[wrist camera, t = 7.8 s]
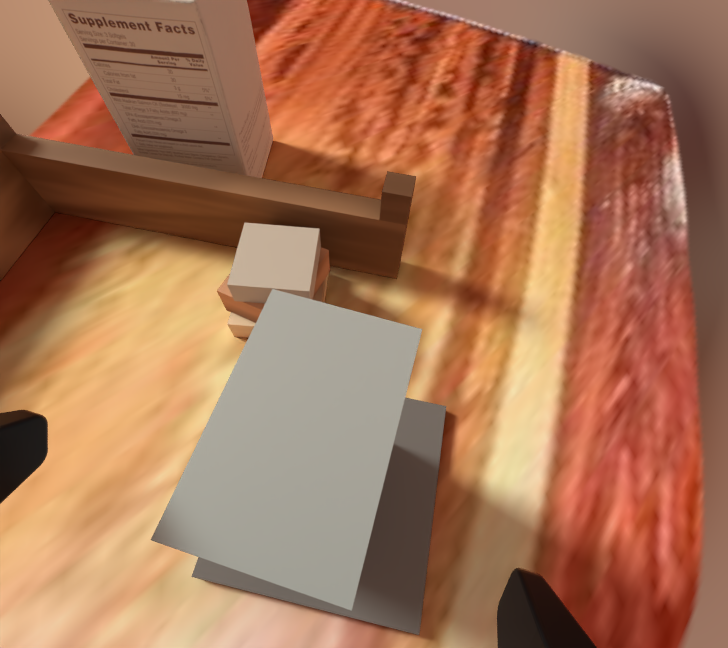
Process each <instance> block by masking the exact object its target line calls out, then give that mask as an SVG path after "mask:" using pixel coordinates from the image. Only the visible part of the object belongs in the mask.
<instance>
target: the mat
mask: <svg viewBox="0 0 728 648" xmlns="http://www.w3.org/2000/svg"><path fill="white" fill-rule="evenodd" d="M445 412H446V406H442V405H437V404H433V403H428V402H423V401H419V400H414V399H409V398H405V400H404V404H403V408H402V412H401V416H400V420H399V424H398V428H397V432H396V436H395V440H394V444H393V448H392V452H391V456H390V460H389V464H388V468H387V472H386V476H385V480H384V484H383V488H382V492H381V496H380V500H379V504H378V508H377V512H376V516H375V520H374V524H373V528H372V532H371V536H370V540H369V544H368V548H367V552H366V556H365V560H364V564H363V568H362V572H361V576H360V579H359V583H358V587H357V591H356V595H355V599H354V603H353V607H352V611H351V610H348V609H345V608H343V607H340V606H337V605H334V604H331V603H328V602H326V601H323V600H320V599H317V598H314V597H311V596H308V595H306V594H303V593H300V592H297V591H294V590H291V589H289V588H286V587H283V586H280V585H277V584H274V583H271V582H269V581H266V580H263V579H260V578H257V577H254V576H252V575H249V574H246V573H243V572H240V571H237V570H234V569H232V568H229V567H226V566H223V565H220V564H217V563H215V562H212V561H209V560H206V559H203V558H200V557H198V560H197V563H196V566H195V569H194V571H193V574H192V577H195V578H199V579H203V580H207V581H210V582H214V583H218V584H222V585H226V586H230V587H234V588H238V589H242V590H246V591H249V592H253V593H257V594H261V595H265V596H269V597H273V598H277V599H281V600H284V601H288V602H292V603H296V604H300V605H304V606H308V607H312V608H316V609H319V610H323V611H327V612H331V613H335V614H339V615H343V616H347V617H351V618H355V619H358V620H362V621H366V622H370V623H374V624H378V625H382V626H386V627H390V628H393V629H397V630H401V631H405V632H409V633H413V634H417V635H419V633H420V625H421V616H422V608H423V599H424V591H425V582H426V574H427V565H428V557H429V548H430V539H431V531H432V522H433V514H434V505H435V497H436V488H437V480H438V471H439V463H440V454H441V446H442V437H443V429H444V420H445Z"/></svg>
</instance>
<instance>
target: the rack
mask: <svg viewBox="0 0 728 648" xmlns="http://www.w3.org/2000/svg"><path fill="white" fill-rule="evenodd" d="M415 180H416V176H411V175H405V174H399V173H394V172H388V171H387V175H386V179H385V182H384V186H383V190H382V197H381V200H379V199H374V198H368V197H363V196H357V195H352V194H346V193H341V192H335V191H330V190H324V189H319V188H313V187H308V186H302V185H297V184H291V183H286V182H280V181H275V180H269V179H264V178H258V177H252V176H247V175H241V174H236V173H230V172H225V171H219V170H214V169H208V168H203V167H197V166H192V165H186V164H181V163H175V162H170V161H164V160H159V159H153V158H148V157H142V156H137V155H131V154H126V153H120V152H114V151H109V150H103V149H98V148H92V147H87V146H81V145H76V144H70V143H65V142H59V141H54V140H48V139H43V138H37V137H32V136H26V135H20V134H16V133H15V132H14V130H13V129H12V128H11V127H10V126H9V124H8V123H7V122H6V121H5V119H4V118H3V117H2V116H1V114H0V281H1V280H2V278H3V277H4V276H5V274H6V273H7V272H8V271H9V269H10V268H11V267H12V266H13V264H14V263H15V262H16V261H17V259H18V258H19V257H20V256H21V254H22V253H23V252H24V251H25V249H26V248H27V247H28V245H29V244H30V243H31V242H32V240H33V239H34V238H35V237H36V235H37V234H38V233H39V232H40V230H41V229H42V228H43V227H44V225H45V224H46V223H47V221H48V220H49V219H50V218H51V216H52V215H53V214H54V213H55V212H57V213H62V214H67V215H73V216H78V217H83V218H88V219H93V220H98V221H103V222H109V223H114V224H119V225H124V226H129V227H134V228H139V229H144V230H150V231H155V232H160V233H165V234H170V235H175V236H180V237H186V238H191V239H196V240H201V241H206V242H211V243H216V244H222V245H227V246H232V247H237V248H238V244H239V241H240V237H241V233H242V230H243V226H244V223H256V224H268V225H281V226H293V227H305V228H318V229H320V241H321V247H322V248H324V249H327V250H329V264H330V266H335V267H340V268H345V269H350V270H355V271H360V272H365V273H371V274H376V275H381V276H386V277H391V278H396V279H397V275H398V270H399V266H400V261H401V255H402V250H403V245H404V239H405V234H406V228H407V223H408V218H409V212H410V207H411V201H412V196H413V191H414V185H415Z"/></svg>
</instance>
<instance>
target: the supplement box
mask: <svg viewBox="0 0 728 648" xmlns="http://www.w3.org/2000/svg"><path fill="white" fill-rule="evenodd" d="M48 1H49V2H50V4H51V6H52V8H53V10H54V12H55V13H56V15H57V17H58V19H59V21H60V23H61V25H62V26H63V28H64V30H65V32H66V33H67V35H68V37H69V39H70V40H71V42H72V44H73V46H74V47H75V49H76V51H77V53H78V55H79V57H80V59H81V60H82V62H83V64H84V66H85V68H86V69H87V71H88V73H89V75H90V77H91V79H92V80H93V82H94V84H95V86H96V88H97V89H98V91H99V93H100V95H101V97H102V98H103V100H104V102H105V104H106V106H107V107H108V109H109V111H110V113H111V115H112V116H113V118H114V120H115V122H116V124H117V125H118V127H119V129H120V131H121V132H122V134H123V136H124V138H125V140H126V142H127V143H128V145H129V147H130V149H131V150H132V152H133V154H134V155H137V156H142V157H148V158H153V159H159V160H164V161H170V162H175V163H181V164H186V165H192V166H197V167H203V168H208V169H214V170H219V171H225V172H230V173H236V174H241V175H247V176H252V177H258V178H262V176H263V173H264V169H265V166H266V162H267V159H268V155H269V152H270V148H271V145H272V142H273V135H272V130H271V125H270V119H269V114H268V109H267V104H266V98H265V93H264V88H263V83H262V78H261V72H260V67H259V62H258V57H257V51H256V46H255V41H254V36H253V30H252V25H251V20H250V15H249V10H248V4H247V0H48Z"/></svg>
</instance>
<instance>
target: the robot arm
mask: <svg viewBox="0 0 728 648" xmlns="http://www.w3.org/2000/svg"><path fill="white" fill-rule="evenodd" d="M47 452H48V423H47V420H46V418H45V417H44V416H43V415H40V414H37V413H34V412H31V411H27V410H18V411H12V412H6V413H0V504H1V503H2V502H3V501H4V500H5V499H6V498H7V497H8V496H9V495H10V494H11V493H12V492H13V491H14V490H15V489H16V488H17V487H18V486H19V485H20V484H21V483H23V482H24V481H25V480H26V479H27V478H28V477H29V476H30V475H31V474H32V473H33V472H34V471H35V470H36V469H37V468H38V467H39V466H40V465H41V464H42V463H43V461H44V460H45V458H46V456H47ZM497 634H498V648H597V647H596V646H595V644H594V643H593V642H592V641H591V639H590V638H589V637H588V635H587V634H586V633H585V631H584V630H583V629H582V627H581V626H580V625H579V624H578V622H577V621H576V620H575V618H574V617H573V616H572V614H571V613H570V612H569V610H568V609H567V608H566V607H565V605H564V604H563V603H562V601H561V600H560V599H559V597H558V596H557V595H556V594H555V592H554V591H553V590H552V588H551V587H550V586H549V584H548V583H547V582H546V580H545V579H544V578H543V577H542V576H541V575H539V574H537V573H534V572H531V571H528V570H525V569H522V568H516V569H514V571H513V572H512V574H511V576H510V578H509V581H508V583H507V585H506V588H505V590H504V592H503V595H502V597H501V599H500V602H499V605H498V611H497Z"/></svg>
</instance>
